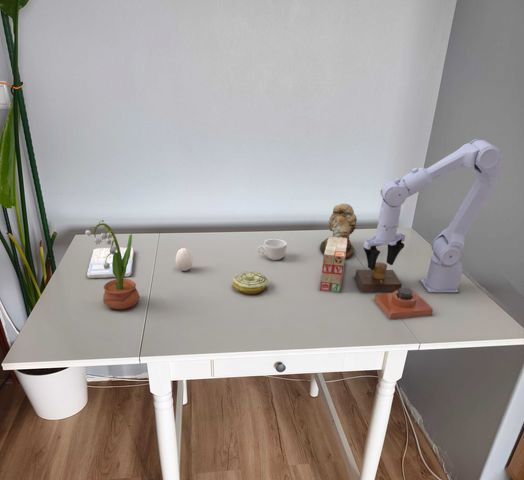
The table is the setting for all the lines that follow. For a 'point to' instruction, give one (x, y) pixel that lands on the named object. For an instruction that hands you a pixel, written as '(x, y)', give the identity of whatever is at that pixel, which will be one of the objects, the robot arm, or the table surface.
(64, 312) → the table surface
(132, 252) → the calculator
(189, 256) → the egg
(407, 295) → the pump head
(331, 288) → the stack of blocks
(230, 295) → the table surface
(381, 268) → the dial
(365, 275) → the dial panel
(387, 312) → the button base
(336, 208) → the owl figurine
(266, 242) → the teacup
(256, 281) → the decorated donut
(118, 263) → the potted flower
